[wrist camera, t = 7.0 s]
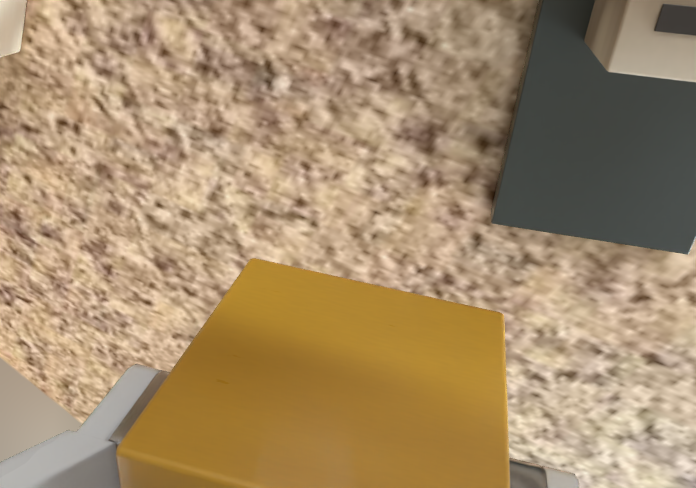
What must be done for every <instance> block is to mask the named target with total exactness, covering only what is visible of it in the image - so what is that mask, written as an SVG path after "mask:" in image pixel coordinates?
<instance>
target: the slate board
mask: <svg viewBox="0 0 696 488" xmlns="http://www.w3.org/2000/svg"><path fill="white" fill-rule="evenodd" d="M594 3H595V0H539V2H538V6H537V11H536V15H535V20H534V24H533V29H532V33H531V37H530V42H529V46H528V51H527V55H526V59H525V64H524V68H523V73H522V77H521V81H520V86H519V90H518V95H517V99H516V103H515V108H514V112H513V117H512V121H511V125H510V130H509V134H508V139H507V143H506V147H505V152H504V156H503V161H502V165H501V169H500V174H499V178H498V183H497V187H496V191H495V196H494V200H493V205H492V209H491V222H492V223H493V224H499V225H505V226H511V227H518V228H524V229H530V230H537V231H543V232H549V233H556V234H562V235H568V236H575V237H581V238H587V239H594V240H600V241H606V242H613V243H619V244H625V245H632V246H638V247H644V248H651V249H657V250H663V251H670V252H676V253H682V254H689V252H690V250H691V247H692V245H693V243H694V241H695V238H696V82H688V81H680V80H672V79H663V78H655V77H647V76H638V75H630V74H621V73H613V72H608V71H607V70H606V69H605V68H604V66H603V65H602V64H601V63H600V61H599V60H598V59H597V57H596V56H595V55H594V54H593V52H592V51H591V50H590V48H589V47H588V46H587V44H586V43H585V42H584V39H585V35H586V32H587V28H588V24H589V21H590V17H591V13H592V10H593V6H594Z"/></svg>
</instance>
